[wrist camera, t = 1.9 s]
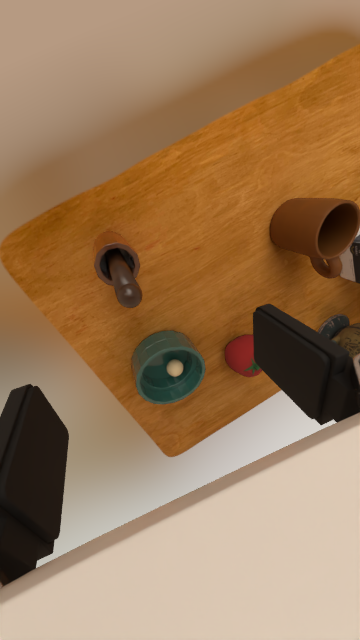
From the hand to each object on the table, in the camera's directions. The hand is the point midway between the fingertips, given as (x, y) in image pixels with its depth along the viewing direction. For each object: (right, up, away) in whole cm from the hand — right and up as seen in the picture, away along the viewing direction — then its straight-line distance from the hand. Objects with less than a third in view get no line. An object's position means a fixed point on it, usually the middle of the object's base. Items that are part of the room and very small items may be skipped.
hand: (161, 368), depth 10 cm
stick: (-8, +11, +21) cm, 25 cm away
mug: (+19, +16, +30) cm, 39 cm away
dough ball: (0, -6, +32) cm, 32 cm away
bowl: (-2, -5, +32) cm, 33 cm away
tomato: (+12, -3, +37) cm, 39 cm away
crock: (-8, +12, +21) cm, 26 cm away
